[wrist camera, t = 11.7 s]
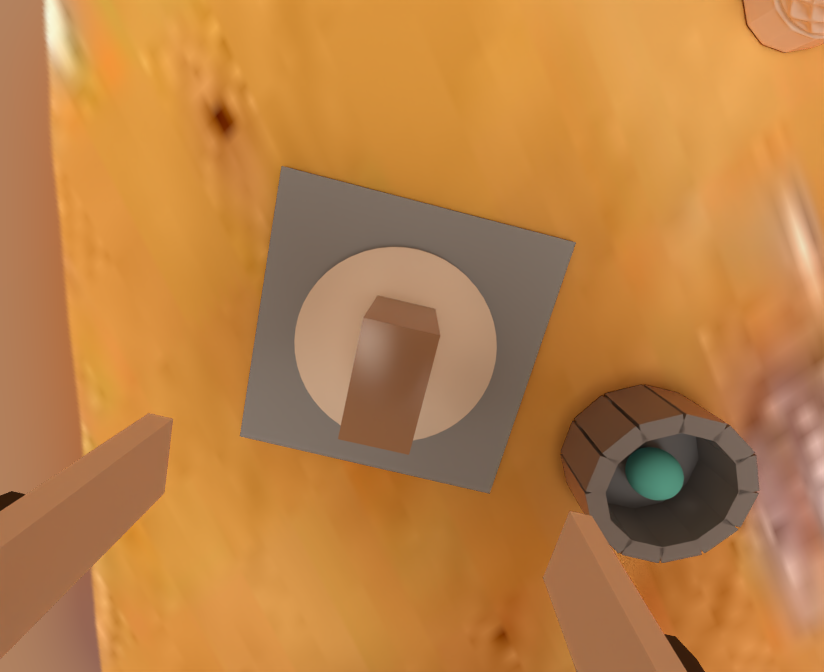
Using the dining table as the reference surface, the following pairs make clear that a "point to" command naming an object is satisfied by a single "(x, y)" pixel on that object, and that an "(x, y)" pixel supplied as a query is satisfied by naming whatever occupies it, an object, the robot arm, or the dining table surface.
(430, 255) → the lid
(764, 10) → the white cup
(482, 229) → the mat
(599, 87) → the dining table surface
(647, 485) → the ball
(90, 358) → the dining table surface
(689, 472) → the bowl
